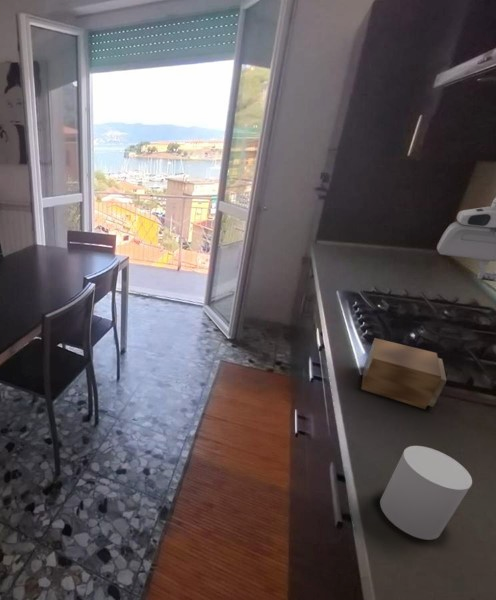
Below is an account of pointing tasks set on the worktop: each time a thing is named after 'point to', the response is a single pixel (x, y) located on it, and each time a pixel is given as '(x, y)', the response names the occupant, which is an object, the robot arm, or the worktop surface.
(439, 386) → the drawer
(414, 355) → the cabinet
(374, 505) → the worktop surface
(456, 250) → the robot arm
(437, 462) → the cup
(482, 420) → the worktop surface
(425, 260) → the worktop surface
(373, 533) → the worktop surface
